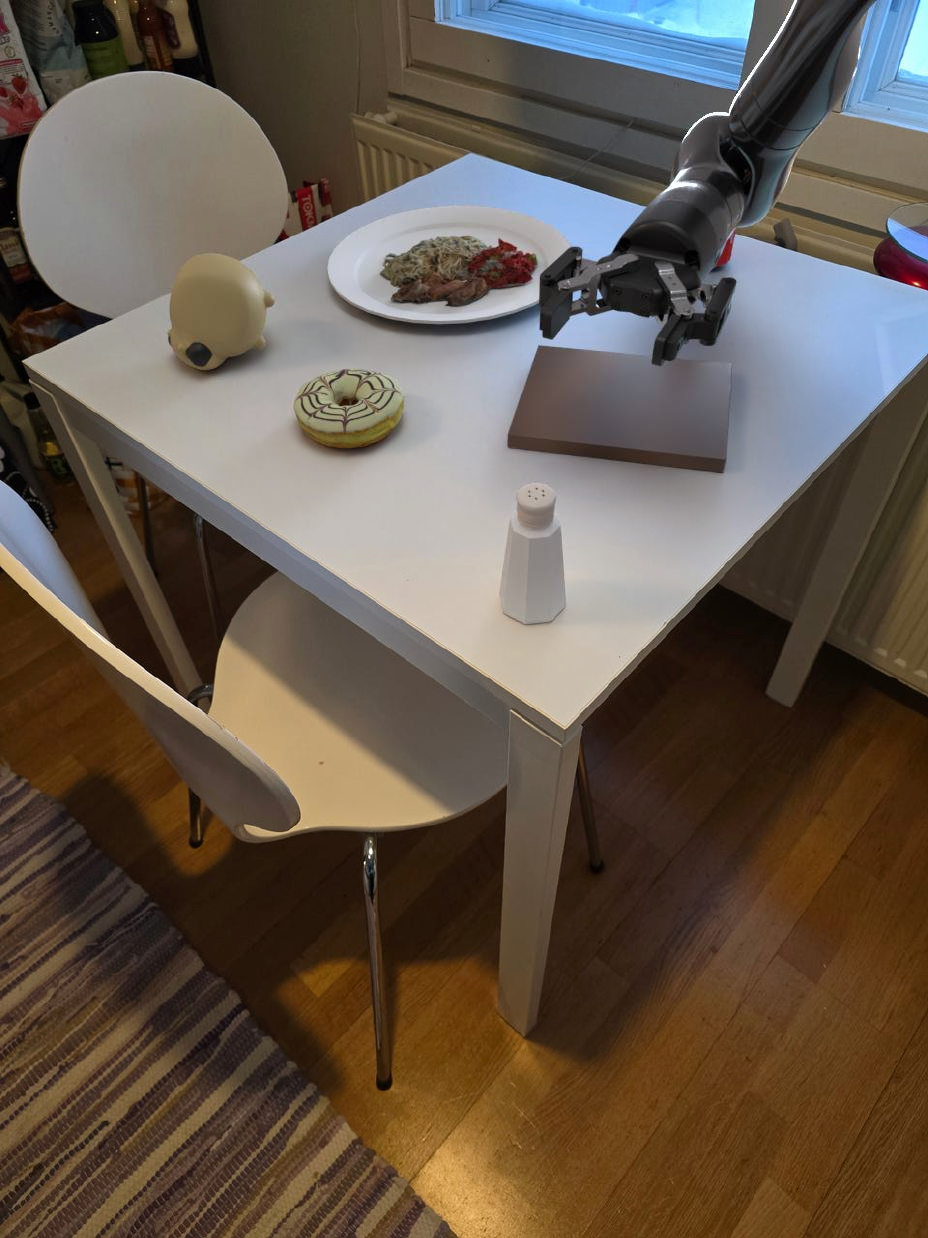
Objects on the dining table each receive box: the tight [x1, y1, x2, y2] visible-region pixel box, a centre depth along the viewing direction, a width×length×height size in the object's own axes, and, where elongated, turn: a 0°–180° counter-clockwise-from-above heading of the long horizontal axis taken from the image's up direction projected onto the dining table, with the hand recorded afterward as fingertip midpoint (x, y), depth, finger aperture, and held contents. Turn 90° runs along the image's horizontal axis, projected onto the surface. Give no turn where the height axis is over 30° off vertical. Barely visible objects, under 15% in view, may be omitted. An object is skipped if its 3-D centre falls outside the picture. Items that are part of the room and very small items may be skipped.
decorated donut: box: [293, 368, 405, 449], centre depth 82 cm, size 10×11×4 cm
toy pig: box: [167, 252, 276, 371], centre depth 90 cm, size 10×12×11 cm
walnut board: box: [507, 344, 733, 474], centre depth 82 cm, size 20×16×2 cm
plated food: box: [326, 204, 573, 325], centre depth 102 cm, size 30×30×3 cm
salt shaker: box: [498, 482, 567, 625], centre depth 62 cm, size 5×5×11 cm
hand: (601, 340), depth 60 cm, fingers open, 8 cm apart
